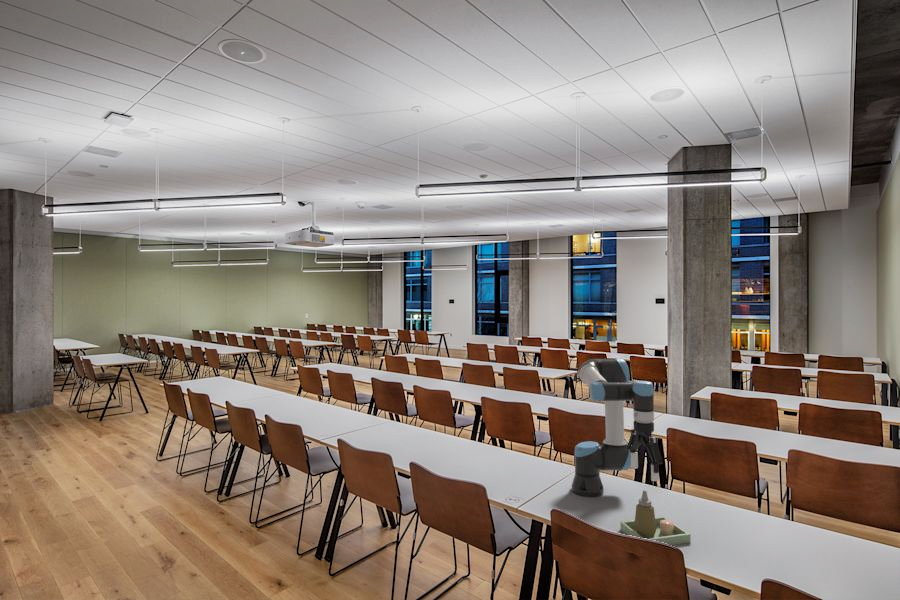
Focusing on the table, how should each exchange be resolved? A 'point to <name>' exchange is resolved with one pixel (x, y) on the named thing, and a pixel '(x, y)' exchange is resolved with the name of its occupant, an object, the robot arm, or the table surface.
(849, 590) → the table surface
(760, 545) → the table surface
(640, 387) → the robot arm
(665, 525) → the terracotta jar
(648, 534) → the squeeze bottle
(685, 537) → the tray
